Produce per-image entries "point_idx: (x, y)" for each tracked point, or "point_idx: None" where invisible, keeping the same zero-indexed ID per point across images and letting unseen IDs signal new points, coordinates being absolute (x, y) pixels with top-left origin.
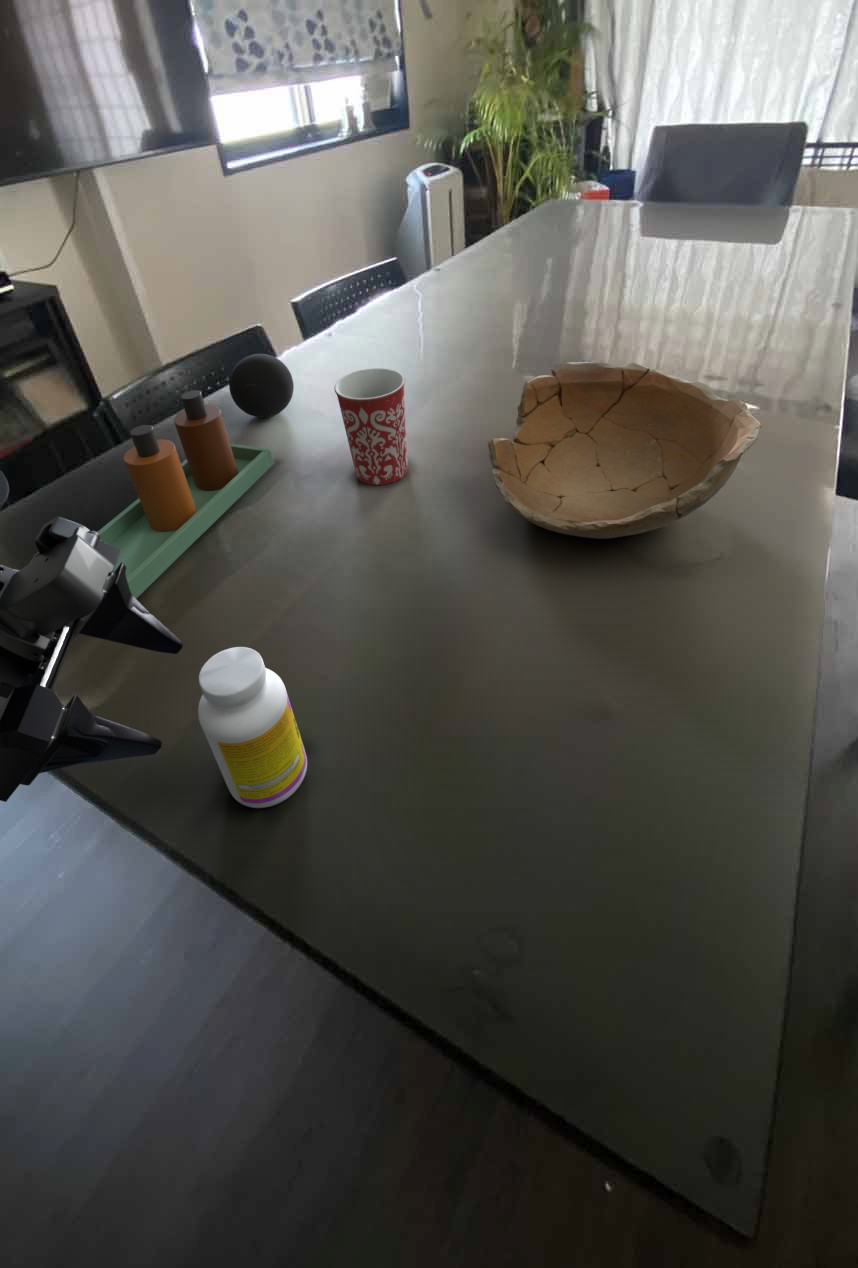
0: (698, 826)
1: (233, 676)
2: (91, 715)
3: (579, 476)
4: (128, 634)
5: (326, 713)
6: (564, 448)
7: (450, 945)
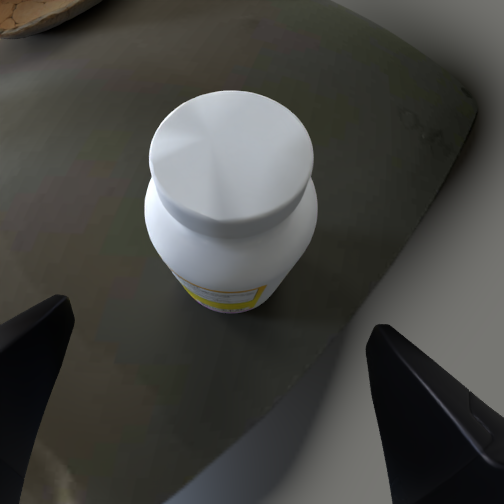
0: (341, 24)
1: (255, 140)
2: (495, 457)
3: (43, 10)
4: (16, 423)
5: None
6: (18, 13)
7: (410, 143)
